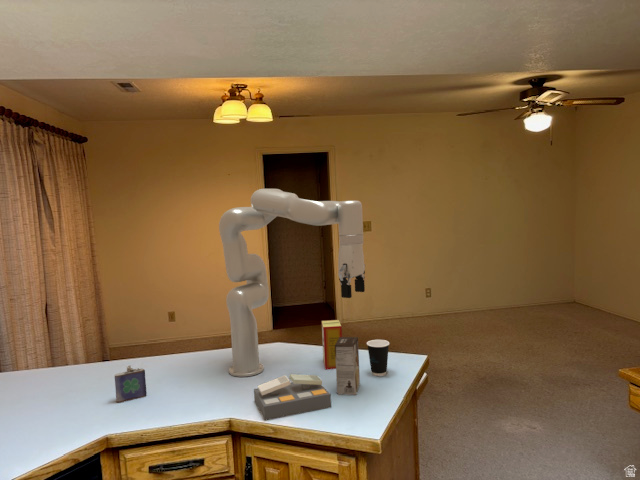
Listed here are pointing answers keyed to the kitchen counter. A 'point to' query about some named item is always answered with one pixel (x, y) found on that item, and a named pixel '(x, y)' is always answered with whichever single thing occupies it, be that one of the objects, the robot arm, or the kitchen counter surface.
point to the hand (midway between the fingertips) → (353, 294)
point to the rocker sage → (305, 379)
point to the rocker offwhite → (273, 385)
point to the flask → (130, 384)
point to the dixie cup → (378, 356)
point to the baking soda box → (330, 342)
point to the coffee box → (347, 365)
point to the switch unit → (292, 400)
